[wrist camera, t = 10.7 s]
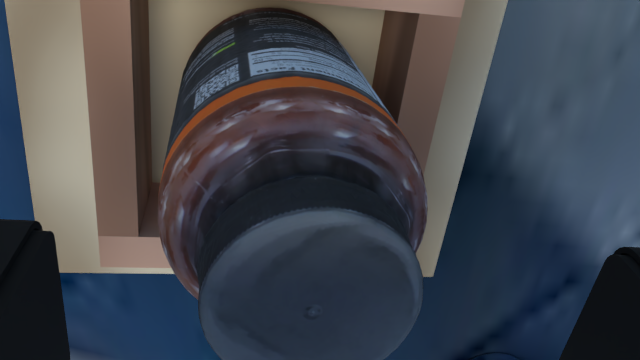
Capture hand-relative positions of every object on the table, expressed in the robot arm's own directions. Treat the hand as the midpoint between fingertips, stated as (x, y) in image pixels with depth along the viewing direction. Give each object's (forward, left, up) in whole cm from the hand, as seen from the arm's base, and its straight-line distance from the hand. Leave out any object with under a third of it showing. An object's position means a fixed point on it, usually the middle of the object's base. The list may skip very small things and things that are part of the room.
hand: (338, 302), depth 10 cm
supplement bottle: (0, 0, -12) cm, 12 cm away
